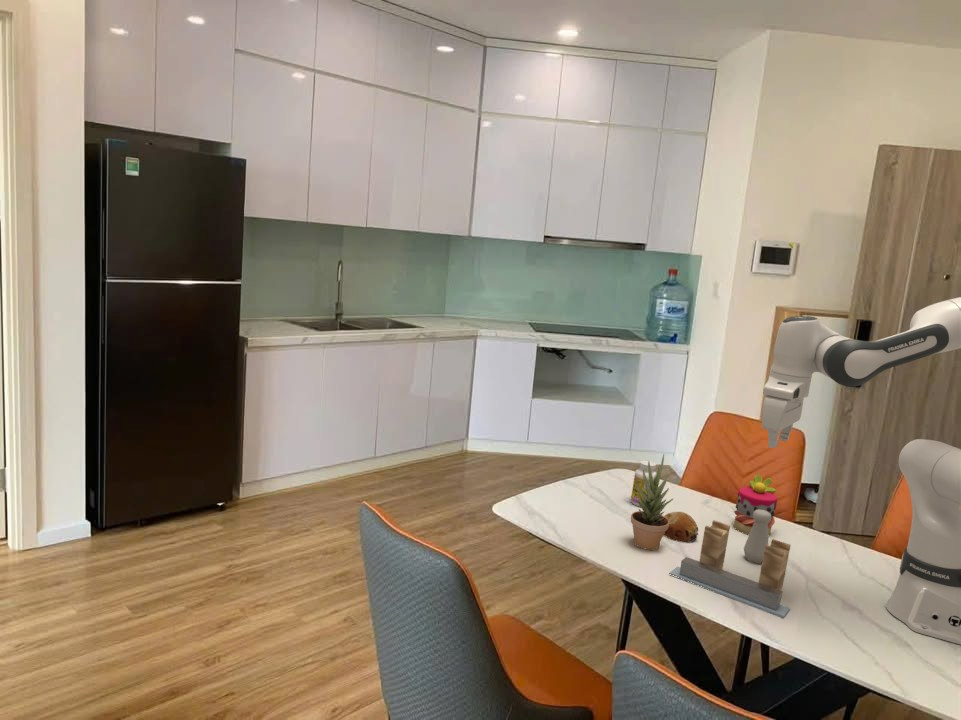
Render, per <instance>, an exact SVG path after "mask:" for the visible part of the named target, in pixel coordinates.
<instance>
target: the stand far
mask: <svg viewBox="0 0 961 720" xmlns="http://www.w3.org/2000/svg"><path fill="white" fill-rule="evenodd" d="M730 527H731V525H729V524H728V523H723V522H721V521H718V520H712V523H711V525H705V526H704V531H703V536H702V544H701V550H700V555H699V560H698V561H699V562H702V563H705V564H708V565H711V566H713V567H716V568H719V569H722V570H724V563H725V558H726V551H727V546H728V540H729V533H730V530H731V529H730Z"/></svg>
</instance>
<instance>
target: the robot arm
mask: <svg viewBox="0 0 961 720" xmlns="http://www.w3.org/2000/svg"><path fill="white" fill-rule="evenodd" d="M776 334H777V335H776V339H775V342H774V347H773V362H772V365H771V367H770V371H769V375H768V378H767V382H766V383H765V385H764V386H763V389H762V390H763V391H762V394H763V395H765V396H764V400H763V404H762V405H763V406H762V407H763V408H762V413H761V428H762V430H763V429H764V430H767V438H768V439H767V440H768V442H767V447H768V448H771V449H776V448H777V447H778V445H779V441H780V442H787V441H789V439H790V434H791V432H792V430H793V427H794V423H797V422H799V421H800V420H801V417H802V412H803V406H804V399H805V398H808V397H809V393H810V387H811V382H812V377H813V374H814V373H819V374H822V375H824V376H825V377H827V378H830V380H833V381H834V382H836V383H837V384H838V385H840V386H843V387H848V388H849V387H851V388H852V387H853V388H854V387H859V386H862V385H864V384H866V383H868V382H870V381H871V380H872V379H874V378H875V377H876V376H878V375H879V374H881V373H882V372H884V371H887V370H889V369H893V368H895V367H898V366H901V365H904V364H908V363H910V362H913V361H918V360H920V359H924V358H927V357H929V356H931V355H932V356H933V355H935V354H940V353H941V354H942V353H945V352H952V351H955V350H959V349H961V296H958V297H955V298H950V299H946V300H943V301H940V302H937V303H936V302H935V303H932V304H930V305H927V306H926V307H924V308H921V309H919V310H917V311H916V312H915V313H914V314H913V315H912V317H911V319H910V322H909V329H908V330H906V331H904V332H900V333H896V334H894V335H891V336H887V337H884V338H880V339H878V340H871V341H868V340H859V339H853V338H851V337H847V336H844V335H843V334H840V333H838V332H837V331H834V330H833V329H831V328H829V327H828V326H826V325H825V324H824V323H822V322H821V321H820V320H819V318H817V317H815V316H812V315H811V316H810V315H796V316H795V315H794V316H790V317H787V318H785V319H783V320H782V322H781V323H780V325H779V328H778V331H777V333H776ZM904 445H905V446H904V447H902V449H901V450H900V452H899V456H898V468H899V470H900V472H901V473H902V474H903V477H904V479H905V481H906V483H907V487H908V490H909V494H910V500H911V508H912V509H911V510H912V511H911V512H912V514H911V515H912V518H911V526H910V531H909V536H908V543H907V546H906V547H905V549H904V551H903V553H902V556H901V560H900V565H899V576H898V580H897V582H896V585H895V587H894V588H893V589H894V590H893V592H892V594H891V596H890V597H889V599H888V600H887V602H886V604H885V607H886V609H887V611H888V613H890V614H891V615H892V616H894V617H895V618H897V619H898V620H900V621H901V622H903V623H904V624H906V626H907V627H909V629H910V630H912V631H913V632H916V633H917V634H922V635H925V636H929V637H932V638H936V639H939V640H943V641H946V642H950V643H953V644H956V645H957V644H958V645H960V646H961V448H959V447H955V446H953V445H950V444H948V443H946V442H942V441H938V440H932V439H925V438H924V439H923V438H917V439H913V440H911V441H909V442H908V443H907V444H904Z"/></svg>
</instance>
